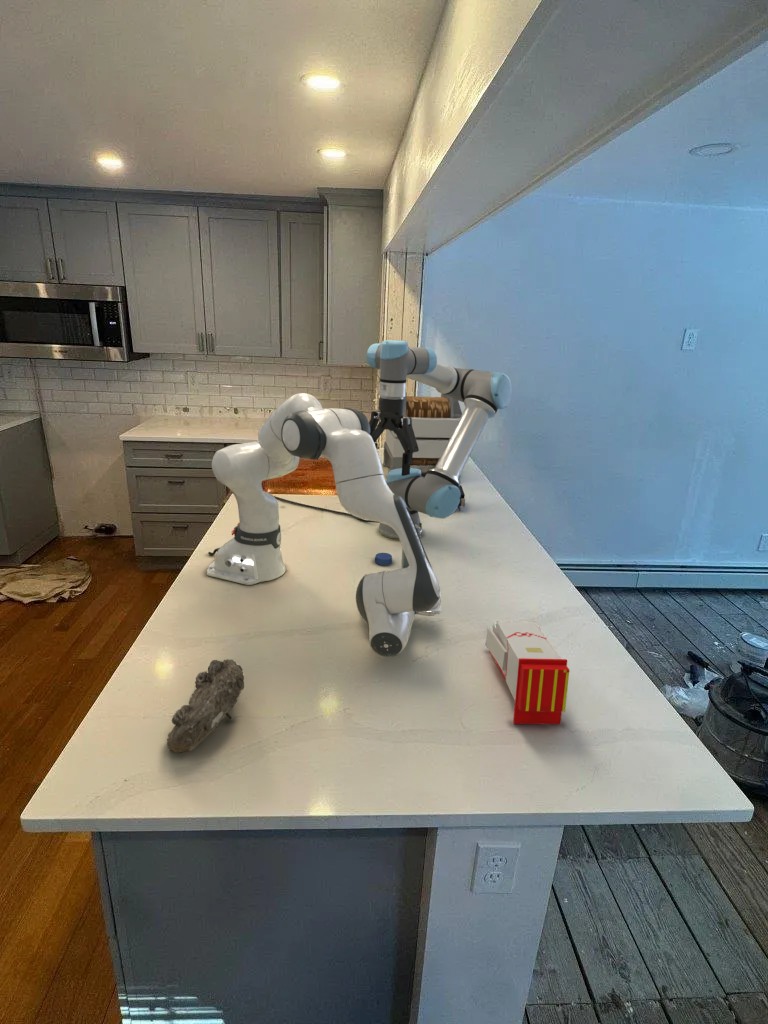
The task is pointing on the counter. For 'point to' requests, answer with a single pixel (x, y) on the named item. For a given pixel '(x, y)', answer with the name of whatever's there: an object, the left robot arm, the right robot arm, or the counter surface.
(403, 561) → the grey long cylinder
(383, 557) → the lid
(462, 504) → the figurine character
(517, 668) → the toy
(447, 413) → the transformer
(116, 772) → the counter surface
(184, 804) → the counter surface
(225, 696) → the fossil
